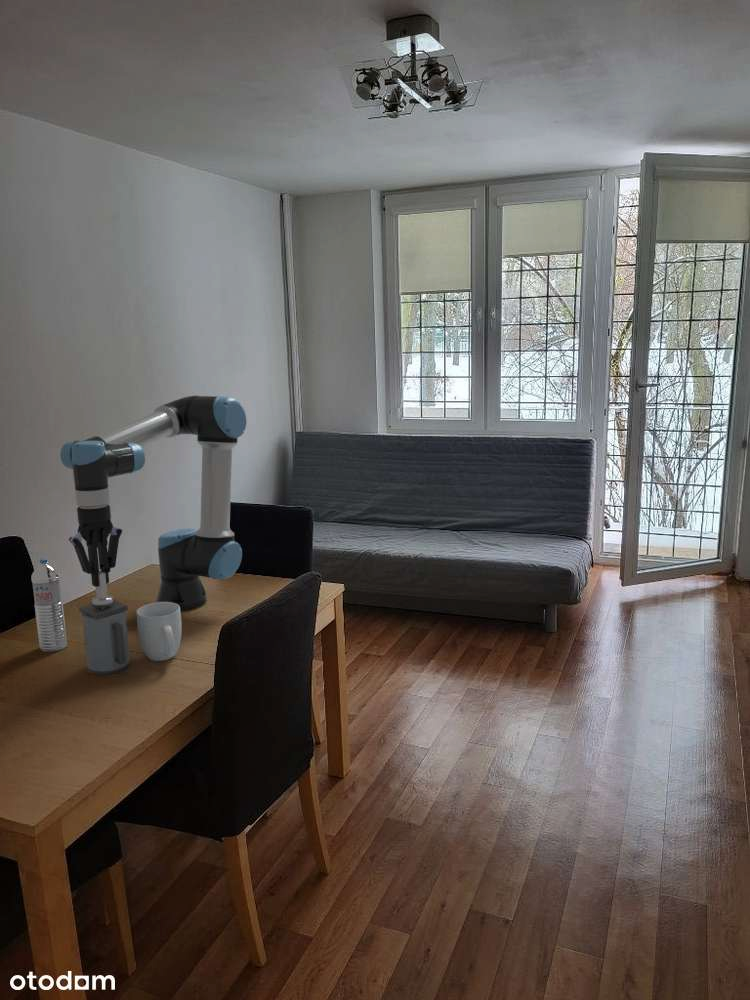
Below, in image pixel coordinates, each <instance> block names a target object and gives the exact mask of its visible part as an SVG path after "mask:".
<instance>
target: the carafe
mask: <svg viewBox="0 0 750 1000" xmlns="http://www.w3.org/2000/svg"><path fill="white" fill-rule="evenodd" d="M113 602H114V603H113V604H112V605H111V606H108V607H105V608H104V609H101V608H96V607H93V606H92V602H91V603H89V604H85V605H81V606H79V607H78V609H79V610H78V611H79V613H81V614H82V615H81V619H82V620H81V621H82V627H83V629H82V630H83V637H84V639H83V640H84V645H85V646H84V647H85V655H86V657H85V658H86V665H87V669H88V670H87V671H88V672H89V674H92V675H95V676H96V675H97V676H108V675H113V674H114V675H115V674H116V673H117V674H119V673H120V672H123V671H124V670H126V669H128V667H129V666H130V664H131V663H130V652H129V651H130V649H129V639H128V629H127V628H128V627H127V620H126V619H127V618H126V617H127V615H126V612H127V611H129V609H128V607H129V606H128V605H126V604H124V603H123V602H120V601H117V600H115V599H114V598H113Z"/></svg>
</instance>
